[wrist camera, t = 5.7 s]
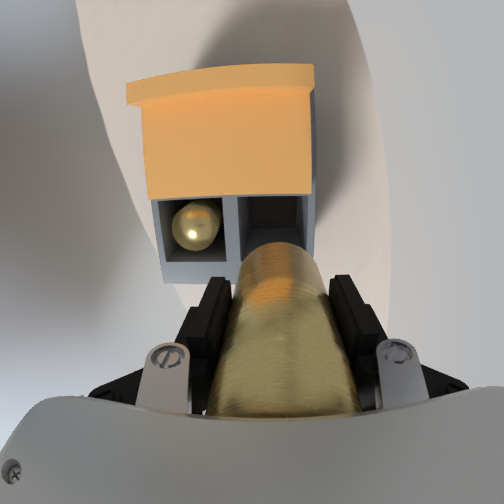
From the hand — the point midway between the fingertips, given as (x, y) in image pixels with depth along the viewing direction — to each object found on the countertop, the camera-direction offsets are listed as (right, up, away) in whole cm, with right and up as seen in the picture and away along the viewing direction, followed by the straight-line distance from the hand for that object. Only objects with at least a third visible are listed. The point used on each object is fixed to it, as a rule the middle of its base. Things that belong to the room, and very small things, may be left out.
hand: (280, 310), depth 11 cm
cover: (-3, +11, +9) cm, 15 cm away
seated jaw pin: (-6, +8, +21) cm, 23 cm away
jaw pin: (0, +1, +2) cm, 3 cm away
